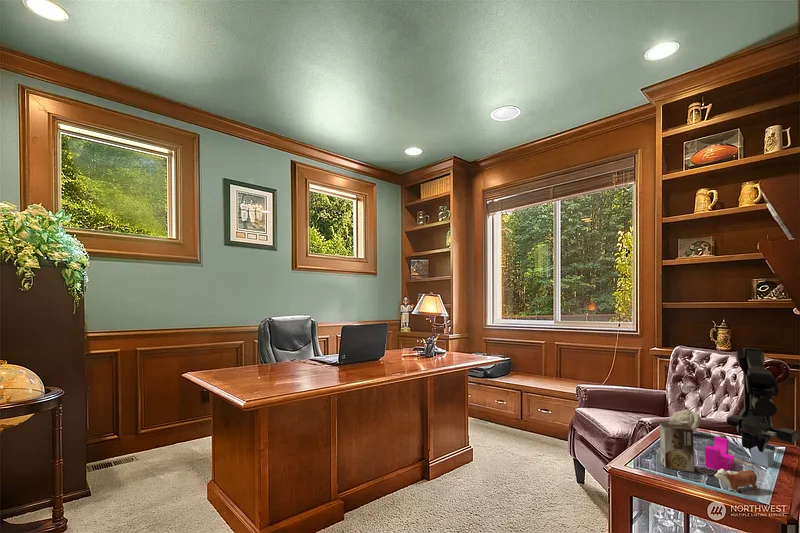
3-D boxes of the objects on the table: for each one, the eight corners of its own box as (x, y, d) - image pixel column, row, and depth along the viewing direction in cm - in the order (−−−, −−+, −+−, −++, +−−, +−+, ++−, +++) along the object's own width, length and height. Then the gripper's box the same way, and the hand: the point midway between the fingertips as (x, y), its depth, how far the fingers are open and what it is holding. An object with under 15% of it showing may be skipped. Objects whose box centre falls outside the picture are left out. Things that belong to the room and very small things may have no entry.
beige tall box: (688, 467, 150) (687, 422, 150) (694, 475, 144) (694, 429, 144) (659, 463, 153) (659, 420, 153) (664, 471, 147) (664, 426, 147)
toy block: (727, 474, 144) (726, 453, 144) (705, 468, 148) (705, 447, 149) (737, 461, 153) (736, 441, 153) (716, 455, 158) (716, 436, 158)
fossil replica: (665, 427, 186) (665, 405, 186) (680, 426, 188) (680, 404, 188) (690, 438, 174) (689, 415, 174) (705, 436, 176) (705, 413, 176)
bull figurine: (712, 491, 134) (711, 466, 134) (750, 489, 135) (749, 464, 135) (723, 499, 129) (723, 473, 129) (763, 496, 130) (762, 471, 130)
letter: (721, 453, 160) (721, 453, 160) (753, 464, 151) (753, 464, 151) (705, 460, 154) (705, 460, 154) (736, 472, 146) (736, 472, 146)
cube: (757, 458, 156) (757, 445, 156) (774, 464, 151) (773, 450, 151) (750, 461, 153) (750, 448, 153) (767, 467, 149) (767, 453, 149)
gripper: (718, 404, 150) (719, 446, 150) (784, 420, 134) (784, 468, 134) (733, 399, 156) (734, 440, 156) (799, 414, 139) (799, 460, 139)
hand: (761, 451), depth 146 cm, fingers closed
